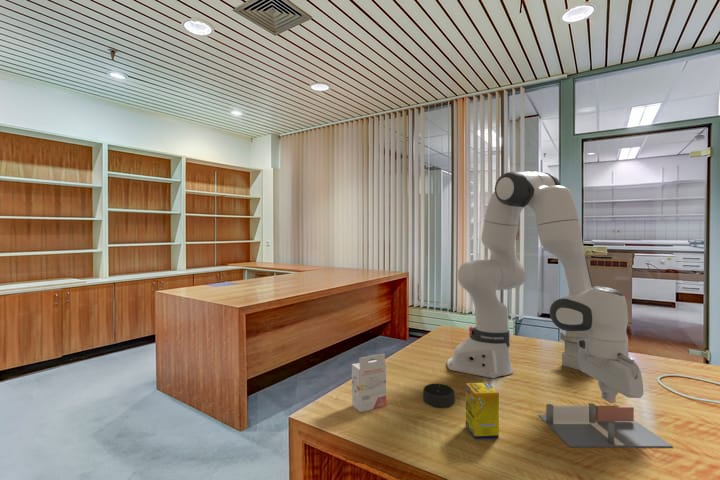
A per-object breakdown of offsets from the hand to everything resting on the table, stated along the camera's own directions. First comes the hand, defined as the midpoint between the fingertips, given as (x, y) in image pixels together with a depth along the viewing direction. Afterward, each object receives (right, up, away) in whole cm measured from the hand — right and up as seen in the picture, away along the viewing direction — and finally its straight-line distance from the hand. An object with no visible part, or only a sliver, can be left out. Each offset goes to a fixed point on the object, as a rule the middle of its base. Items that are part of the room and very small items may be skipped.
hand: (608, 400), depth 97 cm
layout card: (-7, -4, -8) cm, 12 cm away
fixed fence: (-13, -4, -9) cm, 16 cm away
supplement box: (-37, -4, -9) cm, 38 cm away
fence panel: (-2, -3, -5) cm, 6 cm away
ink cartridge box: (-64, -4, +5) cm, 64 cm away
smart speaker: (-44, -4, +7) cm, 44 cm away
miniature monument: (+15, -4, +36) cm, 39 cm away
